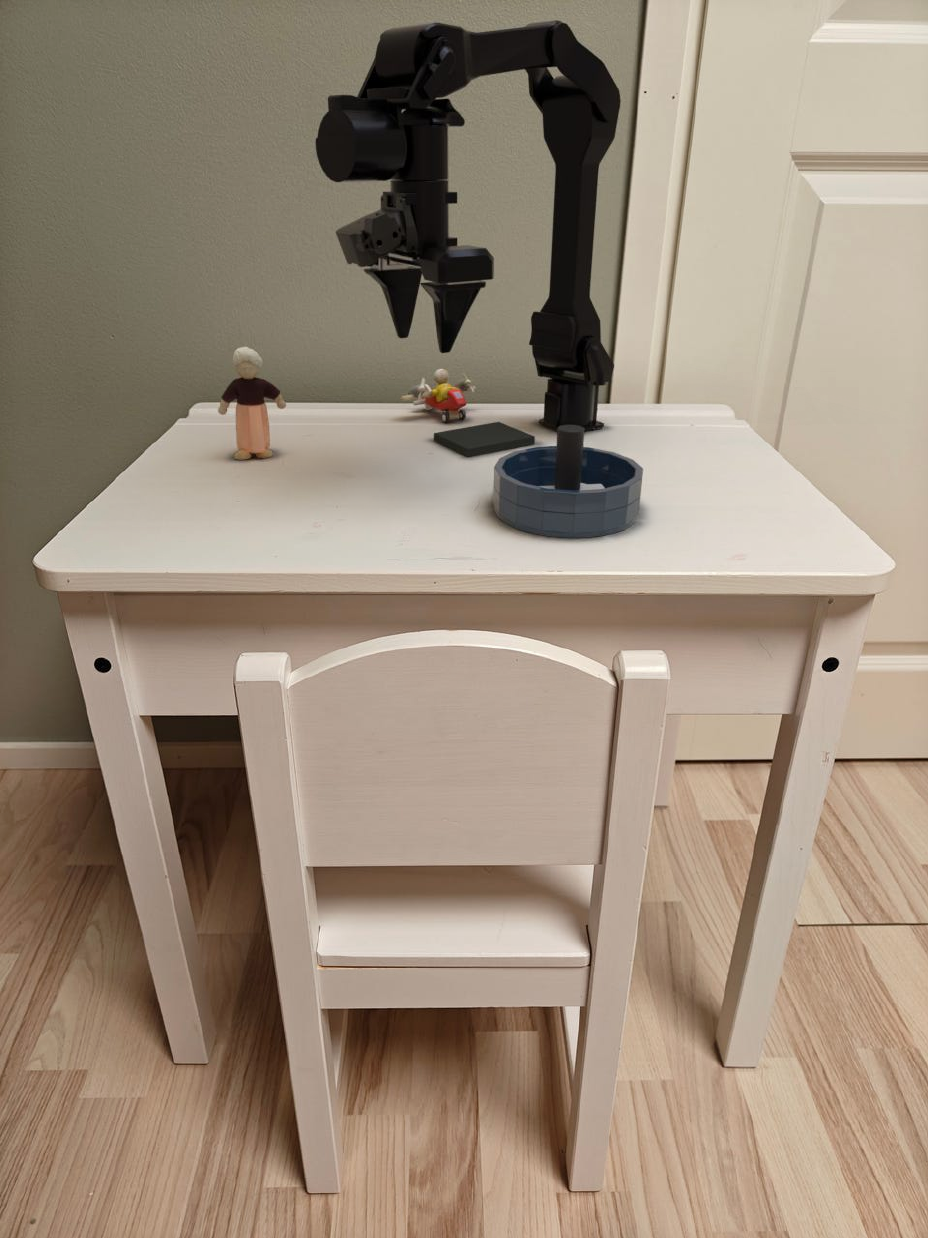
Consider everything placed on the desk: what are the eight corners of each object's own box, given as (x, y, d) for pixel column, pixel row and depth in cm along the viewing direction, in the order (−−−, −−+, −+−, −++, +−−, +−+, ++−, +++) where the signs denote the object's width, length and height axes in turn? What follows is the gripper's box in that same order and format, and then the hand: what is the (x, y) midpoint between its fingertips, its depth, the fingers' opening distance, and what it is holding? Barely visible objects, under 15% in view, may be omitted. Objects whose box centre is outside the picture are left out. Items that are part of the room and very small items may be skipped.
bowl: (576, 477, 97) (578, 438, 95) (669, 518, 86) (674, 475, 84) (467, 501, 90) (467, 460, 88) (553, 549, 79) (555, 503, 77)
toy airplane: (464, 425, 115) (464, 377, 112) (399, 421, 117) (397, 373, 114) (478, 408, 123) (479, 362, 120) (417, 404, 125) (416, 359, 122)
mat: (498, 428, 114) (498, 421, 113) (534, 443, 108) (535, 436, 107) (433, 440, 109) (433, 432, 109) (467, 457, 103) (467, 448, 103)
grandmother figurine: (230, 464, 100) (216, 352, 94) (222, 455, 103) (208, 346, 97) (294, 455, 104) (284, 346, 98) (284, 446, 107) (274, 340, 101)
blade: (580, 491, 91) (585, 416, 87) (610, 505, 88) (617, 427, 84) (521, 505, 88) (524, 428, 84) (550, 520, 84) (554, 440, 80)
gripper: (305, 179, 87) (318, 338, 95) (389, 184, 73) (396, 370, 81) (403, 177, 92) (407, 328, 100) (498, 182, 78) (495, 357, 86)
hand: (423, 344), depth 91 cm, fingers open, 9 cm apart
